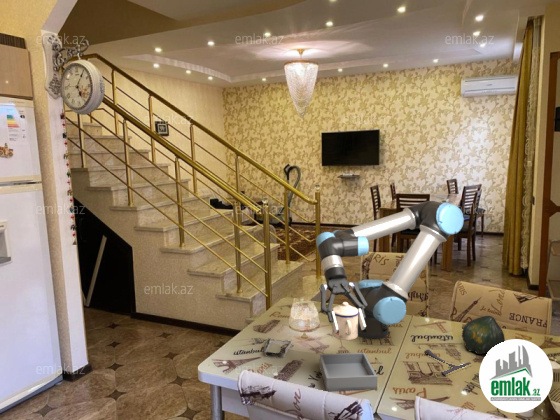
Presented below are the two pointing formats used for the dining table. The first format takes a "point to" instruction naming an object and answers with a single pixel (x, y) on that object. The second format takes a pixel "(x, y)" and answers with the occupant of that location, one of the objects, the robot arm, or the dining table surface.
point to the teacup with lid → (346, 321)
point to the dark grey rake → (446, 363)
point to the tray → (347, 372)
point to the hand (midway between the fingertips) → (350, 329)
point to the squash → (482, 334)
